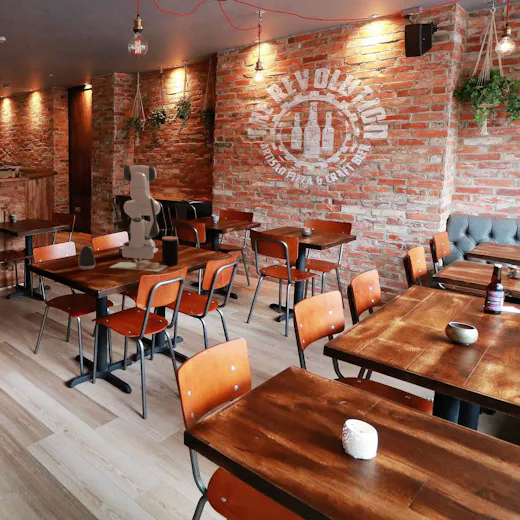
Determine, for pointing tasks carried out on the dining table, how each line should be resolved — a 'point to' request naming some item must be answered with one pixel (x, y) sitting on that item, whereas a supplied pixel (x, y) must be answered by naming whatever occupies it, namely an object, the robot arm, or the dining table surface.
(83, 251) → the dark egg shaped speaker
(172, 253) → the coffee jar
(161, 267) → the board
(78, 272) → the dining table surface
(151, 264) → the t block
